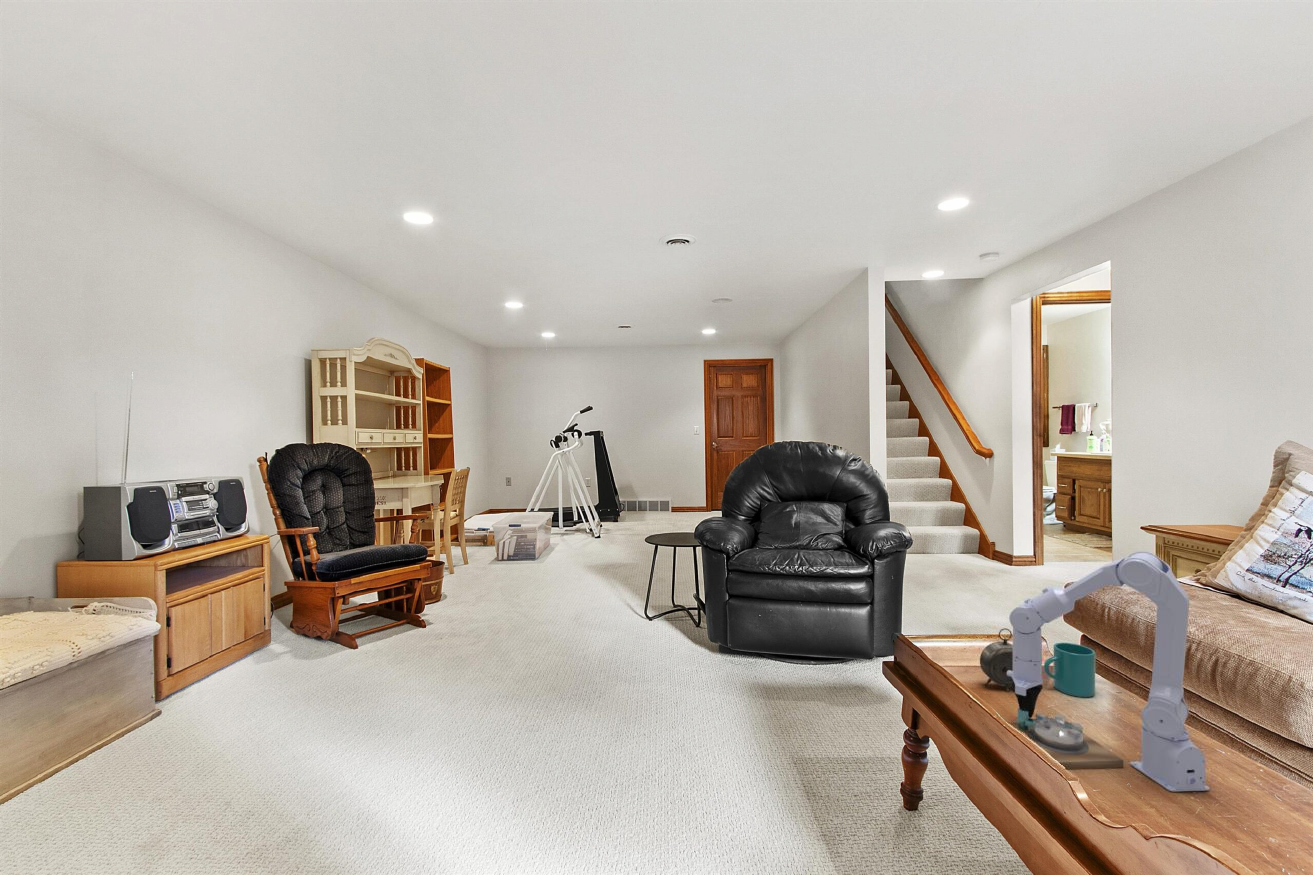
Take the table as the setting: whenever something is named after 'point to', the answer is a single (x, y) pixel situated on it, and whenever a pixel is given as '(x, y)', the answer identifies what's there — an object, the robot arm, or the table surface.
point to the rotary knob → (1052, 730)
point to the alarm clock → (998, 662)
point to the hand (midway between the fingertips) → (1026, 715)
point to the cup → (1073, 669)
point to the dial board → (1079, 753)
